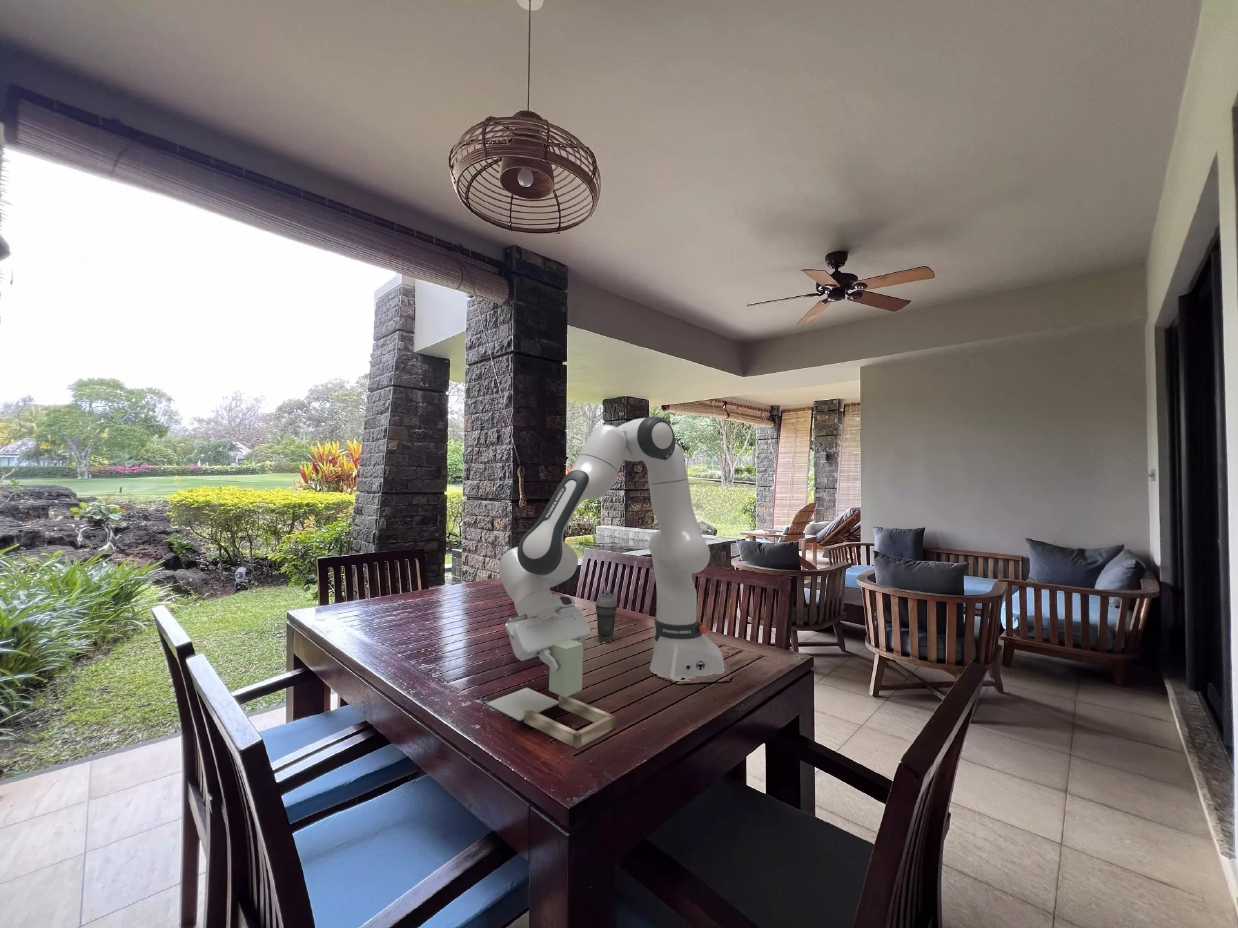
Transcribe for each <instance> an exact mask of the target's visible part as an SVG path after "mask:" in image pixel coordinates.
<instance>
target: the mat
mask: <svg viewBox="0 0 1238 928" xmlns="http://www.w3.org/2000/svg"><path fill="white" fill-rule="evenodd" d="M485 704H486V705H487V706H489V707H491V708H493V709H495V710H496V711H499V712H501V713H503V714H505V715H506V716H509V717H511V718H513V719H514V720H517V721H518V722H520V721H522V720H523V721H524V710H526V709H530V710H533V711H535V712H537V713H539V714H540V713H541V712H543V711H546V710H547V709H550V708H552V707H555V706H558V704H559V700H556V699H554V698H552V697H550V696H547V695H545V694H542V693H540V692H538V691H535V690H533V689H531V688H529V687H524V688H522V689H520V690H517V691H514V692H512V693H509V694H507V695H503V696H501V697H498V698H495V699H493V700H490V701H488V702H486V703H485Z"/></svg>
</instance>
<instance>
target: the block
mask: <svg viewBox="0 0 1238 928" xmlns="http://www.w3.org/2000/svg"><path fill="white" fill-rule="evenodd" d="M549 655H550V656H551V657H553V658H554V659H555V660H557V659H558V660H559V663H560V664H561V668H560V669H559V670H557V671H555V672H552V671H551V669H550V668H549V673H548V674H549V677H548V678H549V681H548V691H550V692H551V693H554V694H556V695H558V696H559V695H561V696H563V697H567V696H568V697H571V695H574V694H577V693H578V692H581V691H583V659H584V643H582V642H577V641H574V640H570V639H569V640H566V641H563V642H560V643H556V644H553V646H552V647H550V654H549Z"/></svg>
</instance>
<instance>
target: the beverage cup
mask: <svg viewBox="0 0 1238 928" xmlns="http://www.w3.org/2000/svg"><path fill="white" fill-rule="evenodd" d="M602 581H603V593H601V594H600V595H599V596H598V597H597V599H596V600H595V601H596V602H595V605H594V606H595V612H596V620H597V621H596V623H597V624H596V625H597V636H598V637H597V638H598V642H599V641H601V642H610V641H612V642H613V640H614V639H613V638H614V632H615V631H614V630H615V622H616V614H617V609H618V601H617V599H616V597H615V596H614V594H613V593H610V592H606V590H607V589H606V579H605V578H603V580H602Z"/></svg>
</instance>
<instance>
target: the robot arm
mask: <svg viewBox="0 0 1238 928" xmlns="http://www.w3.org/2000/svg"><path fill="white" fill-rule="evenodd" d="M581 447H582V448H581V449H580V451H579V453H578V456H577V457H576V460H575V461H574V464H573V466H572V467H571V468H570V470H569V472H568V473H567V474H566V475H565V476H564V477H563V479H562V480H561V482H560V483H558V485H557V488H556V490H555V491H554V492H553V494H552V497H551V498H550V499H549V501H548V503H547V504H546V506H545V508H544V510H543V512H542V513H541V514H540V517H539V518H538V519H537V520H536V522H535V524H533V526H531V527H530V529H528V531H527V532H525V534H524V535H523V536H522V538H521V539H520V541H519V542H518V546H515V547H513V548H510V549H509V550H508V551H506V552H505V553H504V554H503V556H502V557H500V559H499V562H498V567H497V569H498V574H499V577H500V579H501V582H502V585H503V587H504V589H505V592H506V594H507V595H508V597H509V598H510V599H511V600H512V602H513V603H514V608H515V611H516V613H517V614H518V616H516V617H510V618H508V619H507V621H506V622H505V624H504V625H505V626H504V628H505V631H506V633H507V635H508V636H509V641H510V644H511V648H512V651H513V653H514V655H515V657H516V659H517V660H519V661H521V662H522V661H523V662H524V661H527V660H529V659H532V658H535V657H538V658H539V660H540V661H542V662H543V663H544V664H546V666H548V667H549V670H550V669H551V671H552V672H555V671H557V670H559V669H560V668H561V664H560V663H559V660H558V659H557V660H555V659H554V658H553V657H551V656H550V647H552V646H553V644H556V643H560V642H563V641H566V640H569V639H570V640H574V641H577V642H580V643H582V642H584V641H585V640H586V639H587V638H588V637H589V636H590V635H591V632H592V630H591V626H590V625H589V622H588V621H587V618H586V617H585V616H584V614H583V612H581V610H580V609H579V608H578V607H576V606H575V605H576V601H575V600H574V598H573V597H571V596H569V595H568V596H567V595H560V594H556V593H553V592H552V591H551V589H553V588H555V587H557V586H559V585H561V584H563V583H565V582H567V581H568V580H570V579H571V578H572V577H573V576H574V575H575V573H576V571H577V568H578V564H579V563H578V562H579V561H578V556H577V552H576V551H574V549H573V548H571V547H570V545H568V543H566V542H565V541H564V534H565V531H566V529H567V527H568V525H569V523H570V521H571V520H572V517H573V516H574V515H575V512H576V510H577V508H578V507H579V505H580V504H581V503H582V502H583V501H586V500H597V499H600V498H603V497H605V496H606V495H607V494H608V493H609V491H610V490H611V488H612V486H613V485H614V483H615V481H616V479H617V477H618V474H619V471H620V470H621V466H622V463H623V462H624V463H626V462H643V463H644V464H645V467H646V470H647V480H648V488H649V494H650V502H651V508H652V509H651V510H652V514H653V515H654V516H655V519H656V521H657V525H658V527H659V529H658V530H656V531H654V533H653V534H652V535H651V536H650V539H649V542H648V549H649V552H650V554H651V555H650V556H651V558H652V567H653V574H654V579H655V586H656V617H655V618H654V626H653V630H654V631H653V637H654V646H653V653H652V658H651V662H650V665H649V668H650V670H651V672H653V673H654V674H657V675H658V676H662V677H665V678H670V679H672V680H674V681H690V680H688V679H691V678H696V677H694V676H707V675H712V674H722V673H724V671H725V669H724V663H725V662H724V655H723V653H722V651H721V649H720V648H719V647H718V646H717V644H715V643H714V642H713V641H712V640H710V639H709V637H707V636H706V635H705V634H707V633H708V628H707V626H706V625H704V623H703V622H701V620H699V619H697V607H698V606H697V601H698V599H697V598H698V596H697V590H696V587H695V585H694V584H695V583H694V582H693V576H692V574H698V573H701V572H702V571H703V570H705V568H706V567H707V566H708V564H709V562H710V558H711V552H710V551H711V549H710V546H709V545H708V543H707V542H706V541H705V539H704V537H703V535H702V532H701V529H700V526H699V523H698V520H697V517H696V514H695V511H694V507H693V502H692V496H691V490H690V483H689V482H690V481H689V476H688V475H689V474H688V470H687V466H686V460H685V458H684V454H683V452H682V449H681V447H680V445H679V444H677V442H676V437H675V432H674V429H673V427H672V425H671V424H670V422H669V421H668V420H667V419H665V418H664V417H659V416H648V417H642V418H640V417H639V418H636V419H632V420H630V421H627V422H625V423H620V424H617V425H616V426H614V425H611V424H601V425H598V426H596V427H595V428H594V429H593V431H592V432H591V433H590V434H589V436H588V437H587V439H586V440H585V442H584V444H583V445H582V446H581ZM650 670H649V671H650ZM651 672H650V673H651ZM681 678H685V679H686V680H681Z"/></svg>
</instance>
